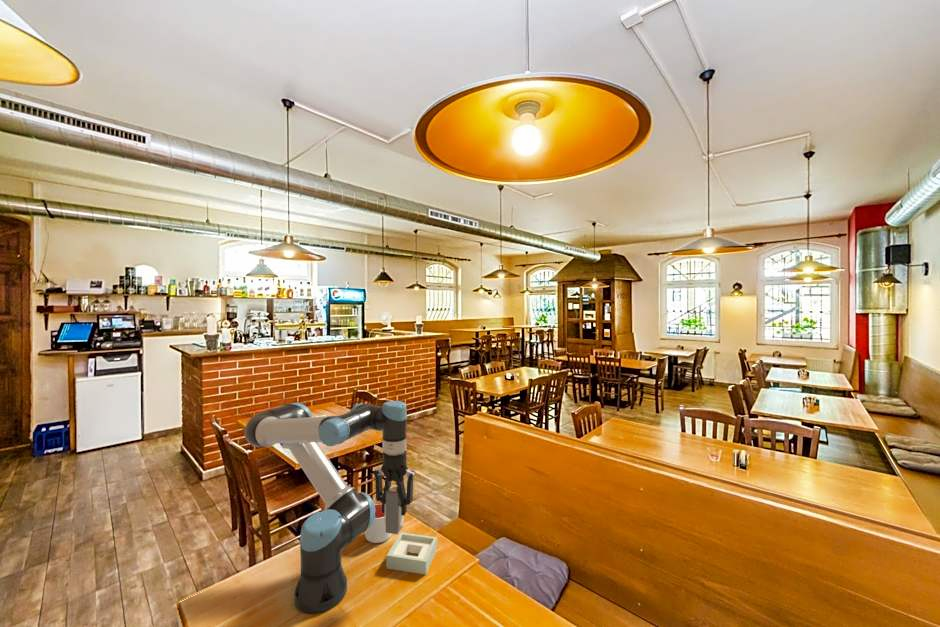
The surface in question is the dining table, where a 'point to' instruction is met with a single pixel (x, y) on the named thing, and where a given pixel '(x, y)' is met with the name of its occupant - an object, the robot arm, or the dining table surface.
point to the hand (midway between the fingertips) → (394, 523)
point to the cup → (377, 527)
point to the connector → (392, 510)
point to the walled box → (412, 544)
